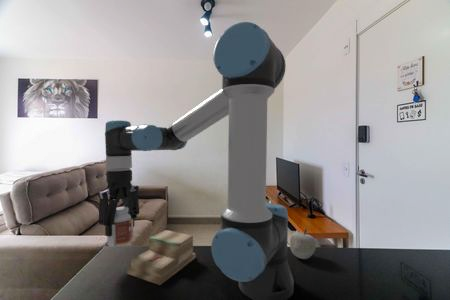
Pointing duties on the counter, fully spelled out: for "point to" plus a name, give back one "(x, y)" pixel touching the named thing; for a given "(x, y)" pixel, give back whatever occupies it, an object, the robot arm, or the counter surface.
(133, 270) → the stand
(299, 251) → the decorative object
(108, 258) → the counter surface
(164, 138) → the robot arm
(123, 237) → the pill bottle
